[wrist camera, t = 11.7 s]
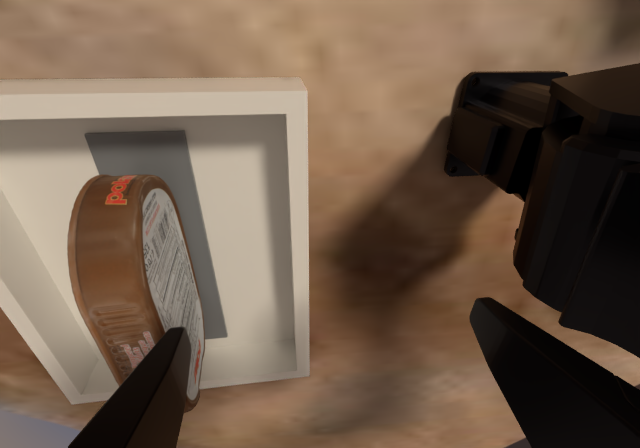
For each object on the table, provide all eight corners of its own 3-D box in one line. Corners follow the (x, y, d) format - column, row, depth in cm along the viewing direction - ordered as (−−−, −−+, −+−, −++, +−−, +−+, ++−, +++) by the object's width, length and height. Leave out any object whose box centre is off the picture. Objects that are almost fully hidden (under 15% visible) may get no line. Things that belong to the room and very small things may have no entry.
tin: (115, 150, 18) (14, 238, 11) (175, 147, 18) (117, 232, 11) (176, 333, 26) (141, 452, 19) (217, 329, 26) (198, 445, 19)
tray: (299, 77, 18) (307, 90, 15) (304, 336, 30) (309, 376, 27) (-66, 79, 16) (-154, 96, 13) (95, 357, 28) (71, 404, 24)
